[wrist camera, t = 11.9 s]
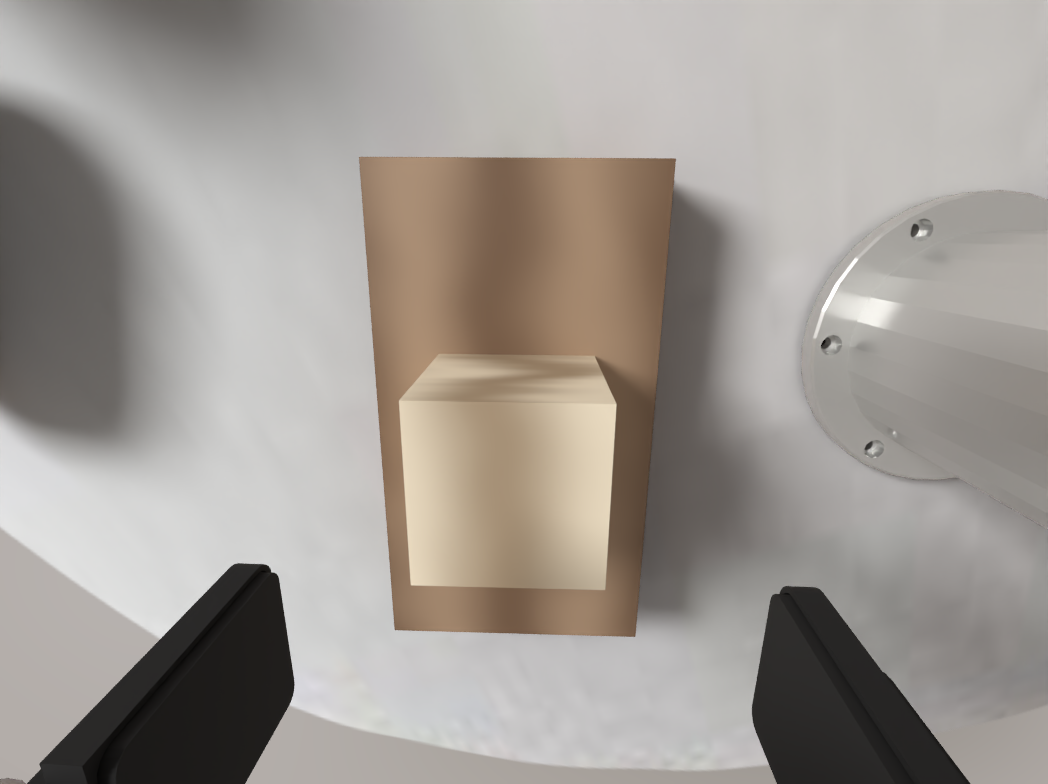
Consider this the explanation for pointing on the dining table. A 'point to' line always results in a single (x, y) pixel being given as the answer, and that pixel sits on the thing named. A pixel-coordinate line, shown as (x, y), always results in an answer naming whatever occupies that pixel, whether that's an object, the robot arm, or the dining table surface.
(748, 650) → the dining table surface
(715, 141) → the dining table surface
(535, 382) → the birch cube
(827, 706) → the robot arm
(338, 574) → the dining table surface
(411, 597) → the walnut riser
